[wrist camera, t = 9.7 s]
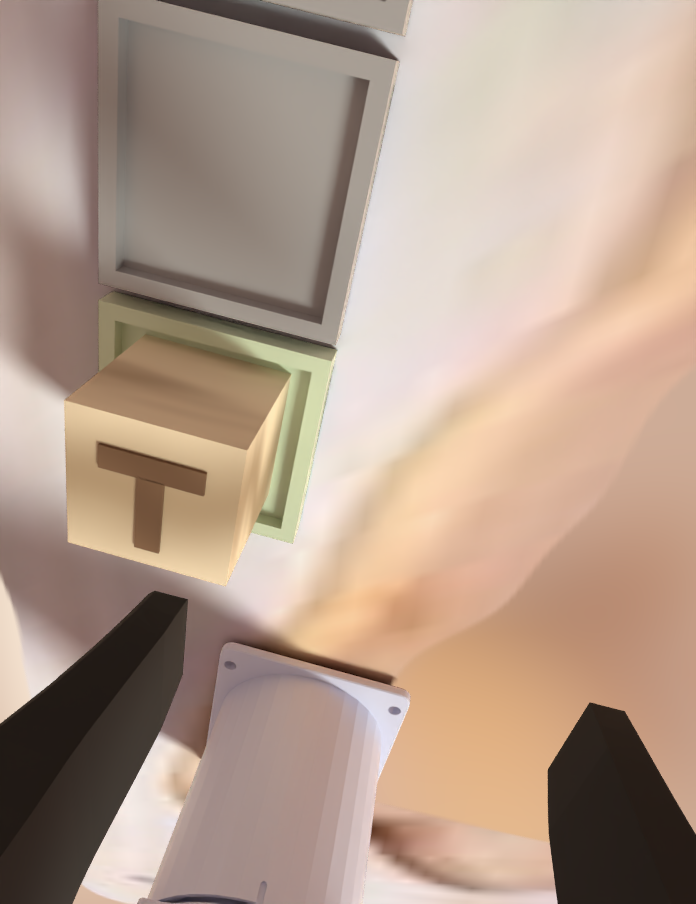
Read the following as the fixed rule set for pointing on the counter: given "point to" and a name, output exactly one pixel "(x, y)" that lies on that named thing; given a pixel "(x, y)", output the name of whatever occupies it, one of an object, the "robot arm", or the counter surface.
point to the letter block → (172, 456)
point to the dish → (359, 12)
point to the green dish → (303, 360)
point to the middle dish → (234, 164)
